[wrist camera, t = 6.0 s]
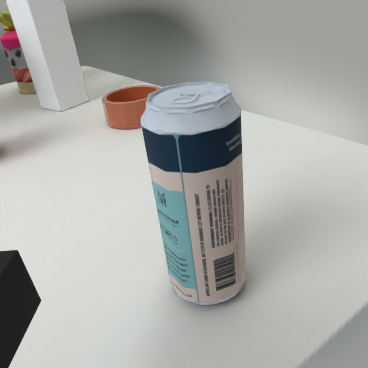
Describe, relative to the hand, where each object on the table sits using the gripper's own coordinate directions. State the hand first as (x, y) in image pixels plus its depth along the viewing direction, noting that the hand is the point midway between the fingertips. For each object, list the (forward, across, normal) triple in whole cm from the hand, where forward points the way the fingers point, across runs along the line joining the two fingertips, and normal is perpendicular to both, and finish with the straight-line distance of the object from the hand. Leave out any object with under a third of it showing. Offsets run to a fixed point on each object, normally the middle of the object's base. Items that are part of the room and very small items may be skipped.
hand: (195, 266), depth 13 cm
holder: (+38, -10, -7) cm, 40 cm away
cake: (+64, -34, -8) cm, 73 cm away
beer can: (+6, 0, -8) cm, 10 cm away
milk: (+49, -24, -8) cm, 55 cm away
